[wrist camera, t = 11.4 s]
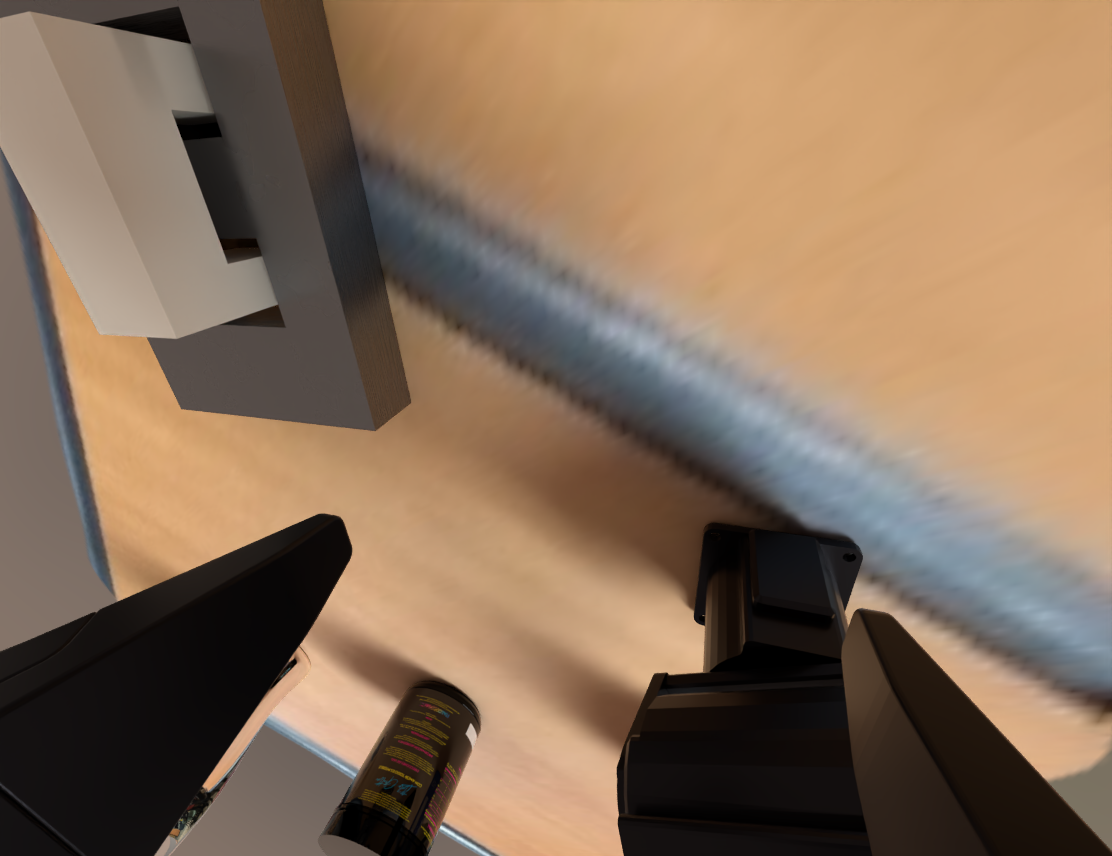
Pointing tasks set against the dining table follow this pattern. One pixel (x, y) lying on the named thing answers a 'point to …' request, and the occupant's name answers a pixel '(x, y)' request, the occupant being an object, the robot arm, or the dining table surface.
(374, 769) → the supplement container
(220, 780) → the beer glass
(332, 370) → the slotted plate
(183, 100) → the block
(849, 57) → the dining table surface
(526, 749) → the dining table surface
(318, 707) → the dining table surface
